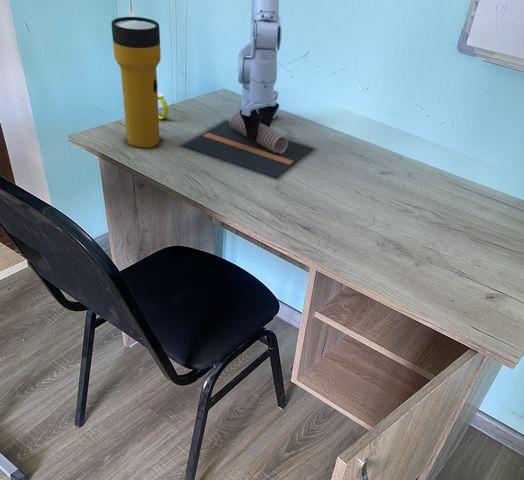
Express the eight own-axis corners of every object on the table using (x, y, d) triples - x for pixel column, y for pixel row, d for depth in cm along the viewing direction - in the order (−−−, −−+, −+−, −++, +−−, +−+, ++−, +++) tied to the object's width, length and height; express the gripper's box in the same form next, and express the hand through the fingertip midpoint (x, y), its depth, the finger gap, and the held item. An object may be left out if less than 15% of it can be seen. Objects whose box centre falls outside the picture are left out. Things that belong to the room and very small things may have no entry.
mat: (226, 121, 144) (226, 120, 144) (312, 149, 136) (312, 148, 136) (183, 146, 131) (183, 145, 131) (275, 178, 123) (276, 177, 123)
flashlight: (121, 12, 117) (165, 19, 116) (131, 129, 135) (169, 136, 134) (103, 23, 110) (149, 30, 109) (116, 145, 128) (156, 153, 127)
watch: (146, 115, 142) (145, 92, 138) (154, 112, 144) (153, 89, 140) (163, 122, 140) (162, 99, 136) (170, 119, 142) (169, 96, 138)
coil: (291, 135, 130) (243, 110, 139) (277, 137, 127) (229, 111, 136) (287, 154, 133) (240, 128, 142) (273, 156, 130) (227, 129, 139)
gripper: (262, 91, 120) (257, 150, 129) (291, 75, 129) (284, 131, 139) (235, 83, 122) (232, 142, 131) (265, 68, 131) (261, 124, 141)
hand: (257, 136), depth 135 cm, fingers closed on coil, 6 cm apart
